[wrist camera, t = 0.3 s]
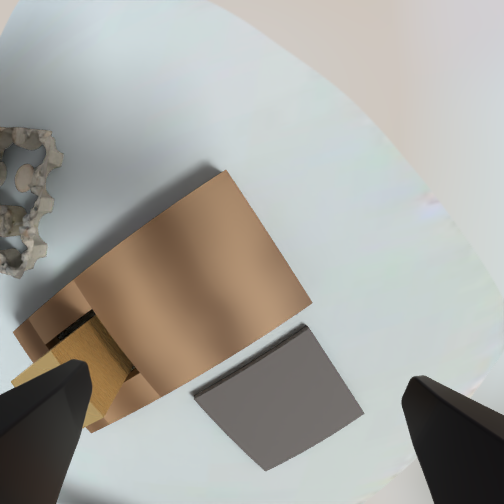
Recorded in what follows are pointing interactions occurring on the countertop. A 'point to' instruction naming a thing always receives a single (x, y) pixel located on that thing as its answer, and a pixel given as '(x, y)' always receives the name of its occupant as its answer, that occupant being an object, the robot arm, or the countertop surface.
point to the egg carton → (15, 217)
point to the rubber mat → (282, 401)
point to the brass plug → (98, 359)
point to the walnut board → (177, 294)
